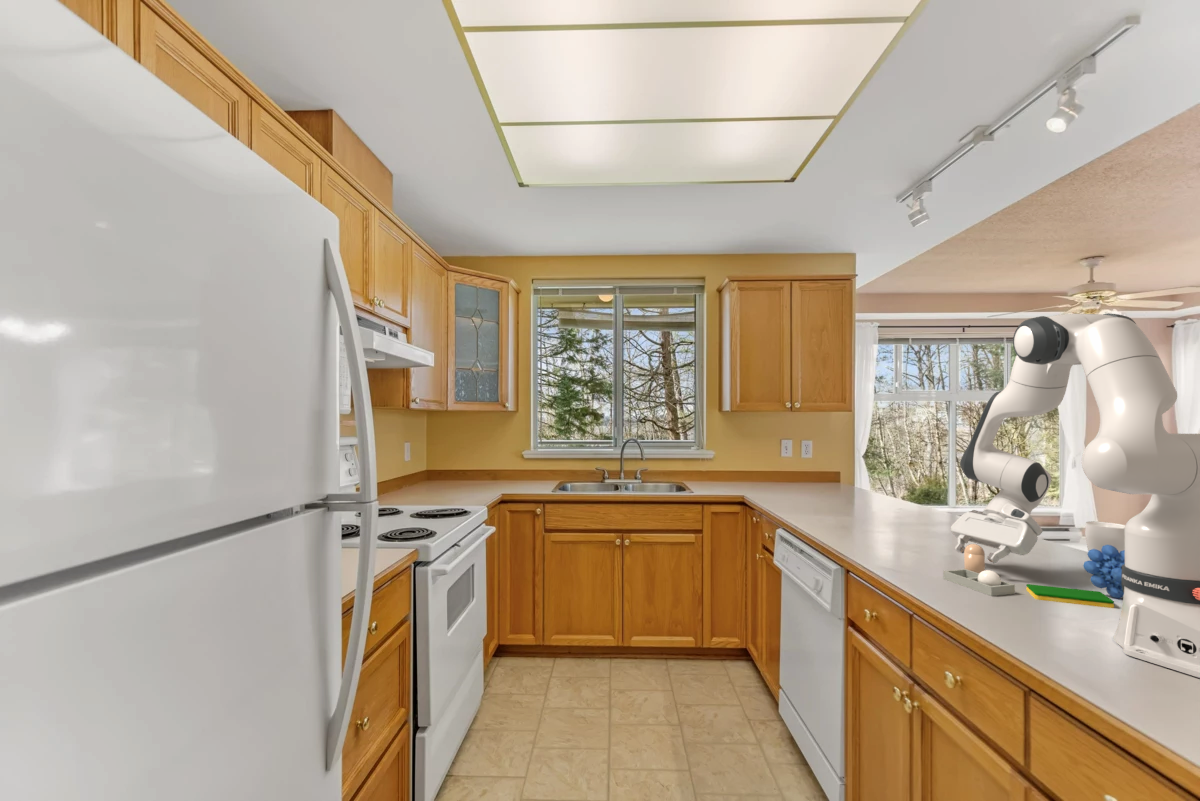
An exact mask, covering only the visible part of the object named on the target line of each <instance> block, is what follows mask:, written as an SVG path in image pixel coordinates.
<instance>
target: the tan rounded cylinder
mask: <svg viewBox="0 0 1200 801" xmlns="http://www.w3.org/2000/svg"><path fill="white" fill-rule="evenodd" d="M964 547H965V550H964V553H963V559H964V560H963V561H964V562H963V563H964V565H963V569H967V570H970V571H973V572H976V573H980V572H982V571H984V570H986V558H985V555H986V553H985V550H984V548H983V547H982V545H980V544H977V543H971V544H968V545H966V546H964Z"/></svg>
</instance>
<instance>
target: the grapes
mask: <svg viewBox="0 0 1200 801" xmlns="http://www.w3.org/2000/svg"><path fill="white" fill-rule="evenodd" d="M1101 551H1102V552H1101ZM1101 551H1099V550H1096V549H1091V550H1089V551H1088V550H1087V557H1088V558H1090V559H1091V560H1092V561H1090V559H1089V560H1086V561H1084V563H1083V565H1082V567H1083V569H1084V570H1085V571H1086V572H1087V573H1088V574H1091V577H1090V581H1091V583H1092V585H1093V586H1095V588H1099V589H1105V588H1106V589H1105V590H1106V593H1107V594H1108V595H1109V596H1111V597H1112V598H1114V599H1121V598H1123V597H1124V592H1123V589H1122V583H1121V574H1122V565H1123V564H1125V550H1123V551H1120V553H1119V552H1118V550H1117V549H1116V548H1115V547H1114V546H1111V545H1105V546H1103V547H1102V549H1101Z"/></svg>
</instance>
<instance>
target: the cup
mask: <svg viewBox="0 0 1200 801" xmlns="http://www.w3.org/2000/svg"><path fill="white" fill-rule="evenodd" d="M1125 525H1126V524H1121V523H1114V522H1108V521H1107V522H1106V521H1105V522H1104V521H1094V520H1093V521H1086V522H1085V527H1084V537H1085V542H1086V547H1087V552H1088V551H1089V550H1091V549H1096V550H1099V551H1101V549H1102V547H1103V546H1105V545H1111V546H1114V547H1115V548H1116V549H1117V550H1118V552H1119V553H1120V551H1123V550H1125V535H1124V529H1125ZM1101 552H1102V551H1101ZM1088 558H1089V557H1088ZM1089 560H1090V561H1092V560H1091V559H1090V558H1089Z"/></svg>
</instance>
